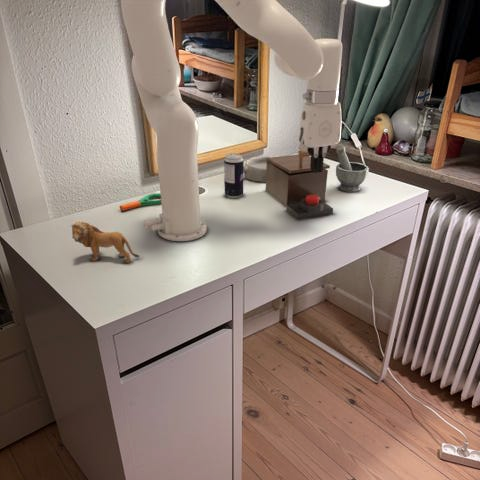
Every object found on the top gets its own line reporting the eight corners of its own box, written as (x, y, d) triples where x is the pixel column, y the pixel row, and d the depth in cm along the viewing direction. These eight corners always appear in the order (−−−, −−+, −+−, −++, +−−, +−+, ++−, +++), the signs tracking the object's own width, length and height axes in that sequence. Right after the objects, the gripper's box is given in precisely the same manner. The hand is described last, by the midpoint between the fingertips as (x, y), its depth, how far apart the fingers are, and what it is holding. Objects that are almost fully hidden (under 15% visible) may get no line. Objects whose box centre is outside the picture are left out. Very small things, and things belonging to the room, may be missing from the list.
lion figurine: (74, 263, 112) (66, 227, 107) (80, 252, 116) (73, 217, 111) (137, 263, 112) (133, 227, 107) (141, 253, 116) (137, 217, 111)
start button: (309, 206, 133) (310, 200, 132) (303, 201, 136) (303, 195, 135) (321, 204, 134) (321, 198, 133) (314, 200, 137) (315, 194, 136)
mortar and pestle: (371, 188, 153) (377, 149, 147) (354, 196, 148) (360, 156, 141) (341, 180, 160) (345, 142, 153) (324, 187, 154) (328, 148, 147)
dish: (290, 173, 166) (291, 158, 163) (277, 185, 155) (278, 170, 152) (251, 167, 170) (251, 153, 167) (236, 180, 160) (236, 164, 157)
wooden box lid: (329, 168, 138) (331, 148, 135) (290, 173, 134) (290, 153, 131) (303, 156, 150) (304, 137, 147) (266, 160, 146) (266, 142, 143)
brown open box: (324, 201, 144) (328, 170, 139) (286, 207, 140) (288, 175, 135) (301, 185, 155) (303, 156, 150) (265, 190, 151) (266, 160, 146)
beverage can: (243, 199, 146) (243, 158, 139) (224, 199, 146) (223, 158, 139) (243, 192, 150) (243, 153, 143) (225, 192, 150) (224, 152, 143)
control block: (299, 221, 132) (300, 208, 130) (286, 210, 138) (287, 198, 136) (334, 215, 136) (335, 203, 134) (320, 205, 142) (321, 193, 140)
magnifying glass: (159, 195, 148) (159, 190, 147) (171, 201, 144) (171, 195, 143) (115, 208, 139) (115, 202, 138) (127, 214, 136) (126, 208, 135)
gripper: (302, 102, 114) (297, 179, 125) (356, 97, 119) (347, 171, 129) (288, 96, 120) (284, 170, 130) (340, 91, 124) (333, 163, 135)
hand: (316, 171), depth 130 cm, fingers closed
